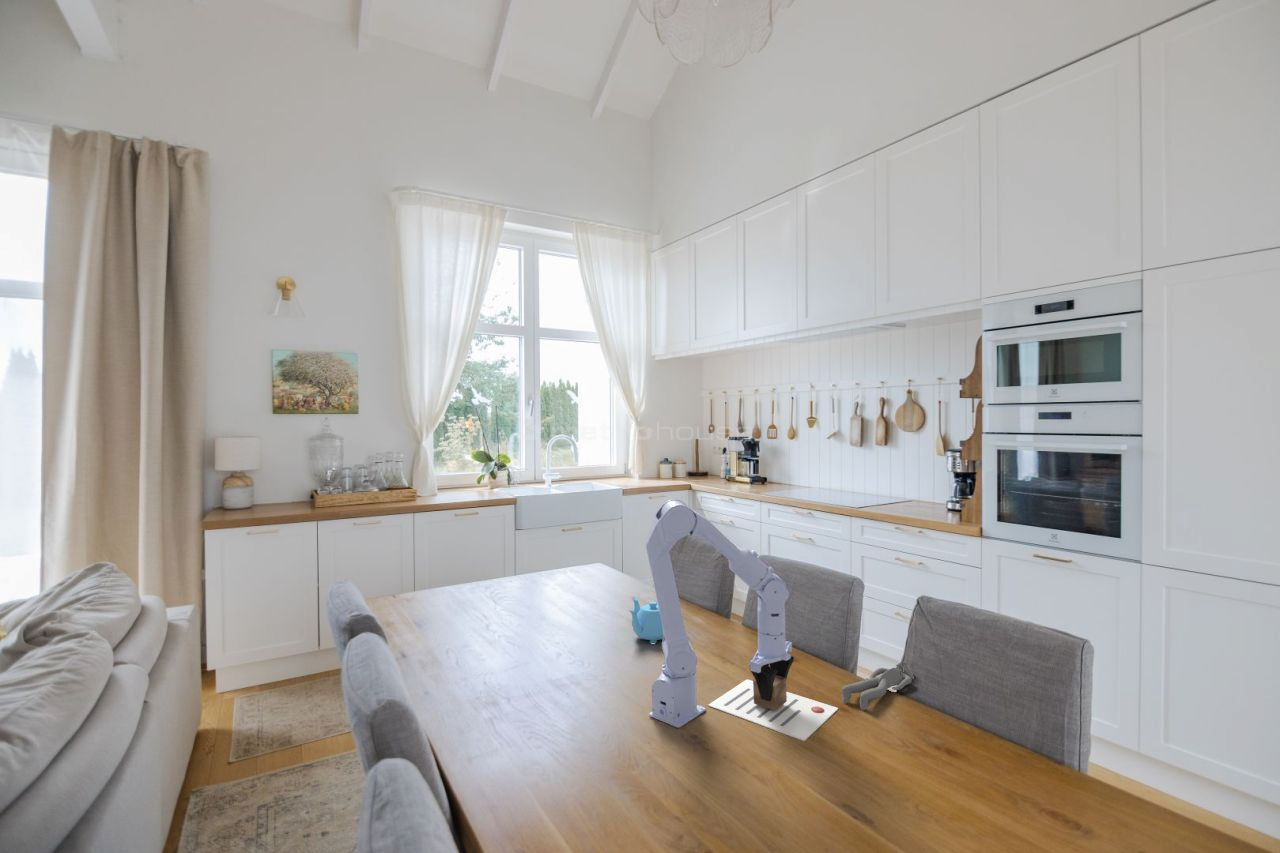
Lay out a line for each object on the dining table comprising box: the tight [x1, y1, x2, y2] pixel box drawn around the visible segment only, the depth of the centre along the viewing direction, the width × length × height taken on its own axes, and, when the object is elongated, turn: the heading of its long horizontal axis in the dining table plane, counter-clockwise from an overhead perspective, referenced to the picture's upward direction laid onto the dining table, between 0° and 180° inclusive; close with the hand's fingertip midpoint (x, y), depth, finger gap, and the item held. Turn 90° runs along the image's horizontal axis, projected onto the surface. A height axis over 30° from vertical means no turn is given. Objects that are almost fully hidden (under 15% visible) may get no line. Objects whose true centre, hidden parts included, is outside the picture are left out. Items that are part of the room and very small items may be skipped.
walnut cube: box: [752, 675, 787, 710], centre depth 126 cm, size 5×5×5 cm
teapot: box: [628, 596, 664, 644], centre depth 166 cm, size 13×13×10 cm
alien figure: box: [841, 661, 914, 711], centre depth 133 cm, size 8×5×25 cm
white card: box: [707, 679, 839, 742], centre depth 125 cm, size 16×22×1 cm
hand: (772, 694), depth 125 cm, fingers closed on walnut cube, 5 cm apart
